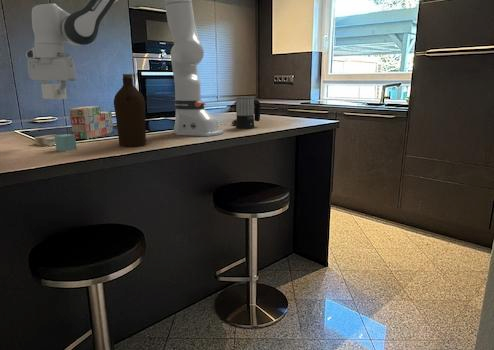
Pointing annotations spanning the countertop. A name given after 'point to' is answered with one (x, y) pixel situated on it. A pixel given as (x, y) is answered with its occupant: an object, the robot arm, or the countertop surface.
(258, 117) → the milk frother
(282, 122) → the countertop surface
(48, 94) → the white block
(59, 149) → the teal block
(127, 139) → the olive oil
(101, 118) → the stack of blocks
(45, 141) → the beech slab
